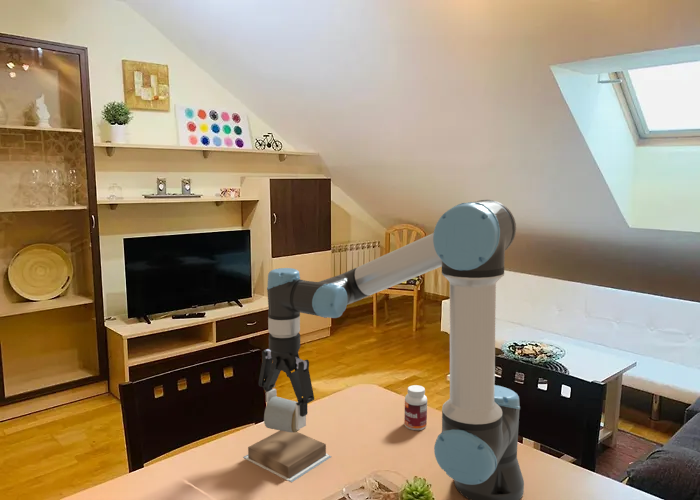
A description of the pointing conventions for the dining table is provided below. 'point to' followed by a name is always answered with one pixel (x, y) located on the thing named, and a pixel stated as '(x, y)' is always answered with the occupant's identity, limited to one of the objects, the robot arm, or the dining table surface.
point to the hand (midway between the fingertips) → (286, 421)
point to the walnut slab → (287, 452)
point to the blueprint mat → (297, 473)
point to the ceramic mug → (280, 414)
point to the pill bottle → (415, 408)
